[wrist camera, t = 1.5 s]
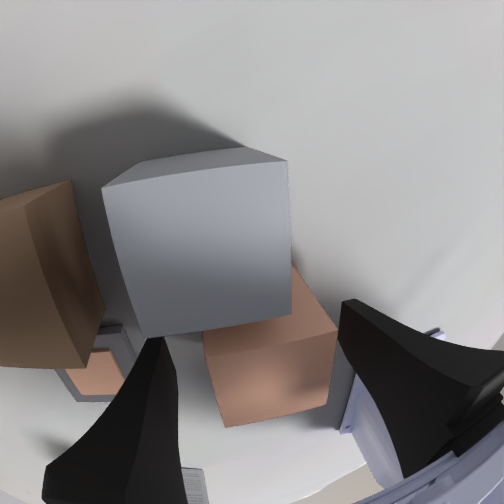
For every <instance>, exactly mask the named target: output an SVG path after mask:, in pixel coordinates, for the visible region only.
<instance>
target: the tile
mask: <svg viewBox="0 0 504 504" xmlns="http://www.w3.org/2000/svg"><path fill="white" fill-rule="evenodd" d="M136 360H137V358H136V356H135V354H134V351H133V349H132V347H131V344H130V342H129V340H128V337H127V335H126V332H125V330H124V327H123V325H117V326H108V327H99V330H98V333H97V336H96V339H95V342H94V345H93V348H92V351H91V354H90V357H89V361H88V364H87V367H86V369H55V371H56V372H57V374H58V375H59V377H60V378H61V380H62V381H63V383H64V384H65V386H66V387H67V389H68V390H69V391H70V393H71V394H72V396H73V397H74V398H75V400H76V401H77V402H111V401H112V400H113V399H114V397H115V396H116V394H117V392H118V391H119V389H120V388H121V386H122V384H123V383H124V381H125V380H126V378H127V376H128V374H129V372H130V371H131V369H132V367H133V365H134V363H135V362H136Z"/></svg>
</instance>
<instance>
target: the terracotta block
mask: <svg viewBox="0 0 504 504" xmlns="http://www.w3.org/2000/svg"><path fill="white" fill-rule="evenodd" d="M291 284H292V315H287V316H282V317H277V318H272V319H267V320H262V321H257V322H251V323H246V324H240V325H234V326H229V327H223V328H217V329H210V330H204V331H202V334H203V343H204V352H205V359H206V363H207V367H208V371H209V374H210V378H211V382H212V385H213V389H214V392H215V396H216V399H217V403H218V406H219V410H220V413H221V416H222V419H223V423H224V426H225V428H227V427H233V426H239V425H244V424H250V423H255V422H260V421H264V420H269V419H273V418H278V417H282V416H286V415H290V414H294V413H298V412H302V411H305V410H309V409H313V408H316V407H319V406H323V405H326V403H327V398H328V392H329V387H330V381H331V375H332V369H333V363H334V357H335V350H336V343H337V336H338V329H337V328H336V326H335V325H334V323H333V322H332V320H331V319H330V317H329V316H328V315H327V313H326V312H325V310H324V309H323V307H322V306H321V305H320V303H319V302H318V300H317V299H316V297H315V296H314V295H313V293H312V292H311V290H310V289H309V288H308V286H307V285H306V283H305V282H304V280H303V279H302V278H301V276H300V275H299V273H298V272H297V271H296V269H295V268H294V266H293V265H292V264H291Z"/></svg>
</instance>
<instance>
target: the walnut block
mask: <svg viewBox="0 0 504 504" xmlns="http://www.w3.org/2000/svg"><path fill="white" fill-rule="evenodd" d="M105 310H106V309H105V307H104V304H103V301H102V298H101V295H100V292H99V289H98V286H97V283H96V280H95V277H94V273H93V270H92V267H91V263H90V260H89V256H88V253H87V249H86V245H85V241H84V237H83V233H82V229H81V225H80V221H79V216H78V212H77V207H76V202H75V197H74V192H73V186H72V181H71V180H67V181H63V182H59V183H55V184H51V185H47V186H43V187H40V188H36V189H33V190H29V191H26V192H22V193H19V194H16V195H12V196H9V197H6V198H3V199H0V366H4V367H19V368H42V369H86V367H87V364H88V361H89V357H90V354H91V351H92V348H93V345H94V342H95V339H96V336H97V333H98V330H99V327H100V324H101V321H102V318H103V315H104V313H105Z"/></svg>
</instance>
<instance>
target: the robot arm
mask: <svg viewBox="0 0 504 504" xmlns="http://www.w3.org/2000/svg"><path fill="white" fill-rule="evenodd" d="M445 336H446V334H445V333H444V332H443V331H440V332H437V333H435V334H433V335H431V336H429V335H426V334H423V333H421V332H419V331H416V330H414V329H412V328H410V327H408V326H406V325H404V324H402V323H400V322H398V321H396V320H394V319H392V318H390V317H388V316H386V315H385V314H383V313H381V312H379V311H377V310H375V309H374V308H372V307H370V306H368V305H366V304H365V303H363V302H361V301H359V300H357V299H351V300H347V301H343V302H342V305H341V314H340V322H339V330H338V337H337V339H338V341H339V343H340V346H341V348H342V350H343V352H344V354H345V356H346V358H347V360H348V361H349V363H350V364H351V366H352V367H353V369H354V371H355V372H356V375H355V379H354V382H353V386H352V390H351V394H350V397H349V401H348V404H347V408H346V411H345V414H344V418H343V421H342V424H341V427H340V430H339V433H340V435H346V434H348V433H352V435H353V437H354V439H355V441H356V443H357V445H358V447H359V449H360V451H361V452H362V454H363V456H364V458H365V460H366V462H367V464H368V466H369V468H370V470H371V472H372V474H373V476H374V478H375V479H376V481H377V482H378V483H379V485H381V486H382V487H383V488H384V489H385V490H383V491H381V492H379V493H376V494H374V495H372V496H369V497H367V498H365V499H363V500H360V501H358V502H355V503H353V504H394V503H396V504H504V405H503V404H502V403H501V401H502V399H503V396H502V395H501V394H500V391H501V390H502V388H503V387H504V351H497V350H485V349H477V348H471V347H466V346H461V345H457V344H453V343H450V342H446V341H444V339H445ZM42 500H43V501H44V502H45V503H46V504H188V500H187V496H186V491H185V486H184V481H183V475H182V470H181V463H180V456H179V448H178V385H177V375H176V369H175V367H174V364H173V361H172V358H171V356H170V353H169V350H168V347H167V344H166V341H165V338H164V336H162V337H154V338H147V340H146V342H145V344H144V346H143V348H142V350H141V352H140V354H139V356H138V358H137V360H136V362H135V363H134V365H133V367H132V369H131V371H130V372H129V374H128V376H127V378H126V380H125V381H124V383H123V384H122V386H121V388H120V389H119V391H118V392H117V394H116V396H115V397H114V399H113V400H112V401H111V403H110V404H109V406H108V407H107V408H106V410H105V411H104V412H103V414H102V415H101V416H100V417H99V418H98V420H97V421H96V422H95V423H94V424H93V425H92V427H91V428H90V429H89V430H88V431H87V432H86V433H85V434H84V435H83V436H82V437H81V438H80V439H79V440H78V441H77V442H76V443H75V444H74V445H73V446H71V447H70V448H69V449H68V450H67V451H66V452H64V453H63V454H62V455H61V456H59V457H58V458H57V459H55V460H54V461H53V462H51V463H50V464H48V465H47V466H46V469H45V474H44V481H43V488H42Z"/></svg>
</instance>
